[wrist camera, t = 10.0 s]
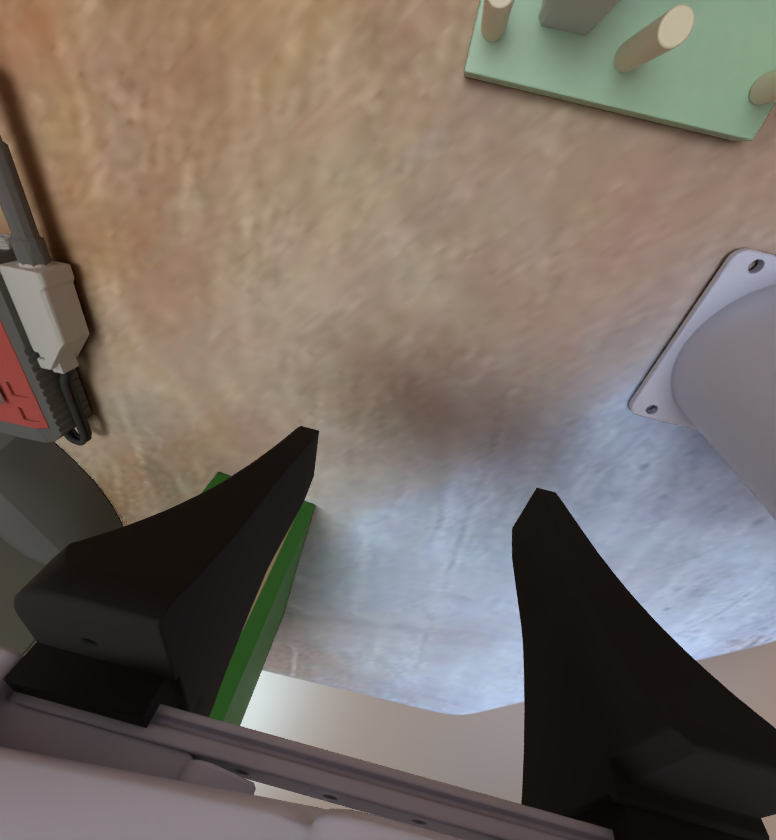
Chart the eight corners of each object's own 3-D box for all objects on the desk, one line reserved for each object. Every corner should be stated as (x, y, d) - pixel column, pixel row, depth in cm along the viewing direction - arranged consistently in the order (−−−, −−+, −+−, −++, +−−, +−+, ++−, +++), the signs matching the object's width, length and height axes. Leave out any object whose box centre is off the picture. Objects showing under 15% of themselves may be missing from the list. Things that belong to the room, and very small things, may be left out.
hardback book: (217, 471, 28) (-357, 1207, 8) (315, 505, 28) (-21, 1290, 9) (210, 594, 38) (-57, 1056, 19) (282, 617, 38) (93, 1096, 19)
